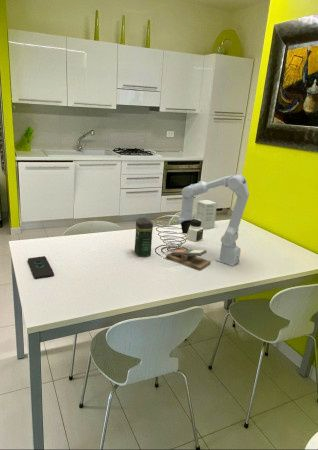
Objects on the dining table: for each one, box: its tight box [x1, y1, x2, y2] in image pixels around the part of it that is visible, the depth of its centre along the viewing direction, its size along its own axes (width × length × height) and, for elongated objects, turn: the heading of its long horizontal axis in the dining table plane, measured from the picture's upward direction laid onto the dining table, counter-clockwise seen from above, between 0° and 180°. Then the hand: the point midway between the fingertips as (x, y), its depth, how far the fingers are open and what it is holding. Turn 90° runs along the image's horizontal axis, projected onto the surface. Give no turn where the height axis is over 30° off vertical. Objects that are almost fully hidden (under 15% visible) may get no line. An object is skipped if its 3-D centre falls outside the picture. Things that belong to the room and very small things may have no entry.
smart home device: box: [27, 255, 55, 280], centre depth 154 cm, size 8×2×20 cm
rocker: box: [170, 249, 207, 257], centre depth 170 cm, size 17×6×2 cm, turn 53°
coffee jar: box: [134, 217, 154, 258], centre depth 174 cm, size 10×8×19 cm
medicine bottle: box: [186, 218, 204, 243], centre depth 200 cm, size 7×7×12 cm
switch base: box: [165, 252, 211, 271], centre depth 171 cm, size 20×10×5 cm, turn 53°
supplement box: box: [195, 199, 218, 230], centre depth 222 cm, size 10×9×17 cm
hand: (184, 233), depth 183 cm, fingers closed
